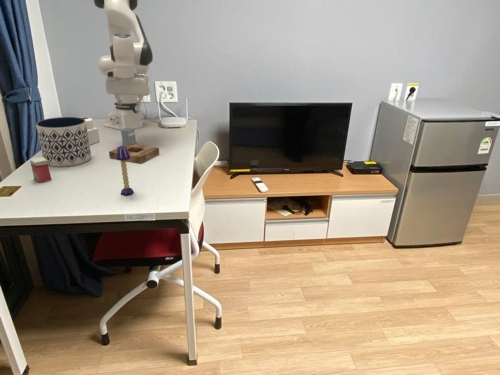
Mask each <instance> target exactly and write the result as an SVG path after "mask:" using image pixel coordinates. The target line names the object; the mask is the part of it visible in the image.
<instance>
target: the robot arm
mask: <svg viewBox="0 0 500 375" xmlns="http://www.w3.org/2000/svg"><path fill="white" fill-rule="evenodd" d="M92 2H93V4H94V6H96V8H99V9H104V10H105V11H104V12H105V15H106V17H107V29H108V36H109V42H110V43H111V45H110V46H109V50H110V54H108V55H106V54H105V55H103V56H100V58H99V60H98V63H97V64H98V69H99V72H100V73H101V74H102V75H103V76H105V77H106V79H105V91H106V93H107V94H109V95H114V98H115V99H116V101H115V102H113V106H115V109H113V110H112V111H110V112H109V113H108V114H107V117H106V118H107V119H106V122H104V123H103V126H102V127H105V128H106V127H107V128H111V129H115V130H118V131H121V130H123V129H126V128H133V129H135V130H136V129H139V128H140V129H141V128H143V127H144V124H143V122H142V119H141V113H140V106H142V100H143V99H144V97H146V96H147V97H148V96H150V93H151V90H150V85H149V84H150V83H149V77H148V75H147V73H148V72H149V68H150V67H149V66H150V64H151V63H152V62H153V59H154V53H153V50H152V47H151V46H150V43H149V41H148V39H147V35H146V33H145V30H144V27H143V24H142V23H141V20H140V17H139V16H138V15H137V13H134V10H135V9H137V7H138V5H139V0H92ZM131 32H133V33H134V35H135V38H136V41H137V42H134V41H133V38H132V33H131Z"/></svg>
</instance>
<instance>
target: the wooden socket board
mask: <svg viewBox="0 0 500 375" xmlns="http://www.w3.org/2000/svg"><path fill="white" fill-rule="evenodd" d="M124 146H126V147H127V149H128V152H129V154H130V159H128V160H126V162H130V163H135V164H140V165H141V164H144V163H145V162H147V161H149V160H151V159H153V158H155V157H157V156H158V155H160V148H159V147H155V146H149V145H142V144H137V143H136V144H131V143H129V144H126V145H124ZM116 151H117V148H114V149H111V150H109V151H108V154H109V155H108V156H109V159H112V160H116Z"/></svg>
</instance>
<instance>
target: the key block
mask: <svg viewBox="0 0 500 375" xmlns="http://www.w3.org/2000/svg"><path fill="white" fill-rule="evenodd" d="M120 131H121V132H120V133H121V141H122V142H121V143H122V146H124V145H126V144H129V143H131V144H137V138H136V134H137V132H136V129H133V128H126V129H123V130H120Z"/></svg>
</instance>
